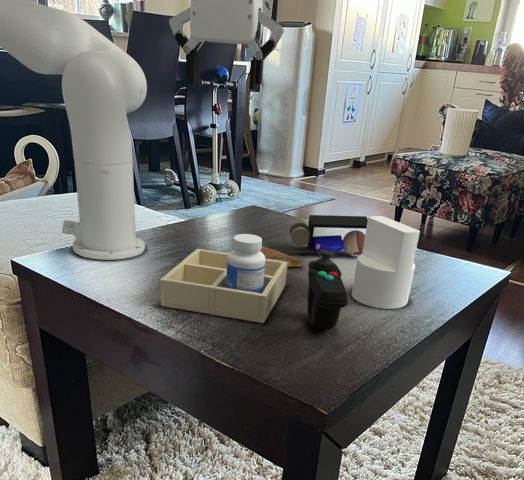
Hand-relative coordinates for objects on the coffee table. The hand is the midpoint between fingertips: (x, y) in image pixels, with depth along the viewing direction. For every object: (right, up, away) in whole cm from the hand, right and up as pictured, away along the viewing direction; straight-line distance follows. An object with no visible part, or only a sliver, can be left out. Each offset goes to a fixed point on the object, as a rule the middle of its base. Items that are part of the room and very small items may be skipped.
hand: (223, 86), depth 82 cm
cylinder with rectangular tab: (+25, -32, +4) cm, 41 cm away
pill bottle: (+3, -34, -4) cm, 34 cm away
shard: (+7, -24, +17) cm, 30 cm away
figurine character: (+19, -22, +22) cm, 36 cm away
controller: (+14, -38, -8) cm, 41 cm away
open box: (+1, -32, 0) cm, 32 cm away
